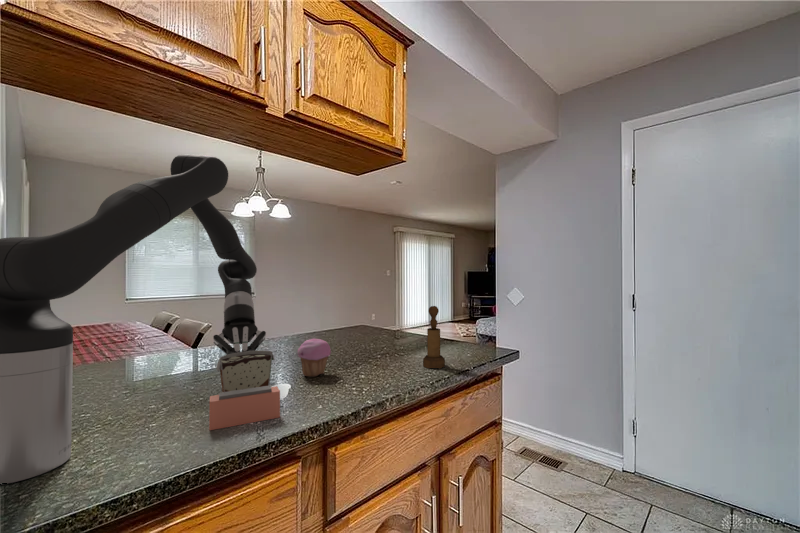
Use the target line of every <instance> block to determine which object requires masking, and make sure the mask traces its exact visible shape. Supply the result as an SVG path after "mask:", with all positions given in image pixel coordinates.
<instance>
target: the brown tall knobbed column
mask: <svg viewBox="0 0 800 533" xmlns="http://www.w3.org/2000/svg"><path fill="white" fill-rule="evenodd" d="M439 313H440V312H439V307H438V306H436V305H432V306H429V308H428V314H429V315H430V321H429V324H430V327H429V328H427V331H426V333H427V334H426V336H427V337H426V339H427V345H426V346H427V351H426V353H427V354H426V355H425V356H424V357H423V358H422V360H423V361H422V366H423V367H424V368H426V369H430V368H439V369H442V367H443V368H445V367H444V366H446V359H445V357H443V355H441V328H437V327H438V320H437V316H438V314H439Z"/></svg>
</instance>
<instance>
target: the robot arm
mask: <svg viewBox="0 0 800 533" xmlns="http://www.w3.org/2000/svg"><path fill="white" fill-rule="evenodd" d="M169 170H170V175H168V176H167V175H166V176H160V177H155V178H150V179H144V180H142V181H138V182H135V183H132V184H131V185H128V186H126V187H124V188H122V189H120V190H118V191H116V192H113V193H112V194H110V195H109V196H107V197H106V198H105V199H104V200H103V201H102V202H101V204H100V205H99V207H98V209H97V211H96V213H95V215H93V216H92V217H91V218H90V219H89V218H88V220H86V221H84V222H82V223H80V224H77V225H75V226H73V227H71V228H68V229H66V230H65V229H64V230H63V231H60V232H56V233H53V234H50V235H43V236H17V237H12V236H11V237H3V238H0V484H1V483H7V484H11V483H16V482H20V481H24V480H29V479H31V478H34V477H38V476H40V475H43V474H45V473H48V472H50V471H51V470H54V469H56V468H58V467H60V466H62V465H63V464H64V463H66V462H67V461H68V460H70V458H71V456H72V444H73V443H72V427H73V426H72V420H73V416H72V415H73V414H72V412H73V369H74V368H73V367H74V366H73V363H74V359H73V358H74V356H73V355H74V354H73V353H74V343H73V342H74V329H73V326H72V324H70V323H68V322H66V321H65V320H62V319H61V318H59V317H58V316H57V315H56V314H55V313H54V312H53V309H52V306H51V300H56V299H61V298H64V297H67V296H69V295H71V294H74V293H75V292H77V291H78V290H79V289H81V288H82V287H84V286H85V285H86V284H87V283H88V282H90V281H91V280H92V279H93V278H94V277H96V276H97V275H98V274H99V273H100V272H101V271H102V270H104V268H106V267H107V266H108V265H110V263H112V261H114V260H115V259H116V258H118V257H119V256H120V255H121V254H123V253H125V252H126V251H127V250H129V249H131V248H133V247H134V246H136V245H137V244H138V243H140V242H142V241H143V240H144V239H146V238H147V237H149V236H151V235H152V234H153V233H156V232H157V231H158V230H160V229H162V228H163V227H164V226H165V225H167V224H169V223H170V222H171V221H172V220H174V219H175V218H177V217H179V216H180V215H182V214H183V213H184V212H186V211H188V210H189V209H191V210H192V212H193V213H194V215H195V216H196V217H197V219H198V221H199V222H200V223H201V225H202V227H203V228H204V230H205V232H206V233H207V236H208V239H209V240H210V242H211V244H212V247H213V248H214V249H213V250H214V251H215V253H216V255H217V256H218V258H219V259H222V260H223V261H221V262H220V263H219V265H218V267H217V273H218V276H219V277H220V280H221V282H222V284H223V288H224V305H223V329H222V331H221V333H219V334H214V335H213V336H212V337H213V344H214V345H215V346H216V347H217V348H218V349H220V350H221V351H222V352H223V353H224V354H225V355H228V354H232V353H237V352H244V351H257V349H258V348H259V347H260V346H261V345H262V344H263V342H264V341H265V340H266V335H267V332H266V331H265V330H262V331H261V330H259V329H258V327H257V325H256V320H255V307H254V300H253V292H252V285H251V283H250V281H249V280H252V279H253V278H254V277H255V276H256V274H257V271H258V269H257V266H256V263H255V261H254V260H253V258H252V257H251V256H250V254H248V253H247V251H246V249H244V247H243V245H242V242H241V240H240V238H239V236H238V233H237V231H236V228H235V227H234V225H233V224H232V222H231V221H230V220H229V219H228V218H227V217H226V216H225V215H224V214H223V213H222V212H221V211H219V210H218V208H216V207H215V206H214V204H213V203H212V202H211V200H210V199H209V198H211V197H213V196H216V195H218V194H219V193H221V192H222V191H224V189H225V188H226V186H227V184H228V181H229V170H228V167H227V165H226V164H225V163H224V162H223V160H221V159H220V158H218V157H217V156H213V155H205V154H178V155H177V156H174V158H173V159H172V161H171V164H170V169H169ZM254 337H255V338H254ZM253 338H254V340H253ZM252 340H253V341H252ZM227 341H228V342H227ZM251 341H252V342H251ZM250 342H251V343H250ZM229 343H230V344H231V345H232V346H231V345H230V344H229ZM248 343H250V344H248ZM240 345H241V347H240ZM1 485H2V484H1Z"/></svg>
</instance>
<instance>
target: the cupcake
mask: <svg viewBox="0 0 800 533" xmlns="http://www.w3.org/2000/svg"><path fill="white" fill-rule="evenodd" d="M330 346H331V345H329V343H328V342H327V341H326V340H323V339H322V338H321V339H320V338H314V337H313V338H310V339H307V340H304V342H303V343H301V345H300V346H299V347H298V348H297V356H298V357H299V358H300V362H301V371H302V375H304V377H305V376H306V377H312V378H313V377H314V378H315V377H318V376H319V375H322V374H325V370H326V365H327V362H328V360H329V356H330V355H331V353H332V350H331V347H330Z"/></svg>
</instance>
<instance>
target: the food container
mask: <svg viewBox="0 0 800 533" xmlns="http://www.w3.org/2000/svg"><path fill="white" fill-rule="evenodd" d="M274 355H275V354H273V351H271V350H255V351H244V352H242V351H240V352H237V353H232V354H228V355H227V354H225V355H222V356H220V357H219V359H218V361H217V364H216V369H215V370H216V371H217V372H219V376H220V383H221V385H220V386H221V392H228V391H235V390H242V389H249V388H255V387H262V386H269V385H270V381H271V371H272V363H273V362H272V361H275V356H274Z"/></svg>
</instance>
